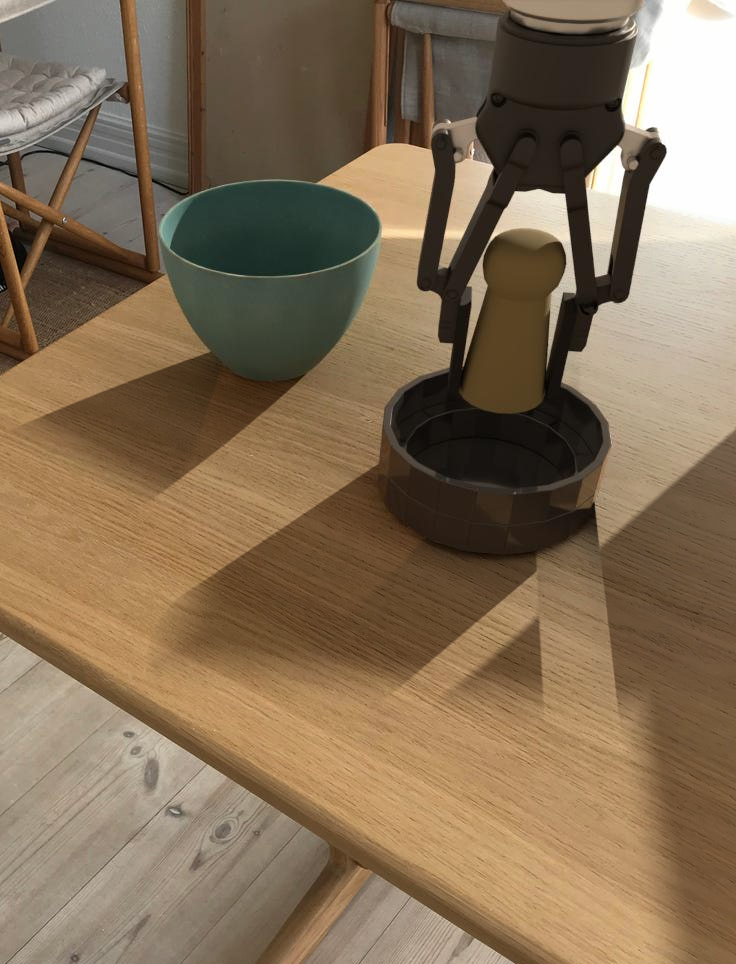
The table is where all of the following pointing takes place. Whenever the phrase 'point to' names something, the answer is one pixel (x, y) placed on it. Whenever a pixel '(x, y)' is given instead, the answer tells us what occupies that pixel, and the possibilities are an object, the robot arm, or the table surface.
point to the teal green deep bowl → (270, 271)
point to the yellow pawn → (513, 322)
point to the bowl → (490, 467)
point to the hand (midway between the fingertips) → (502, 385)
